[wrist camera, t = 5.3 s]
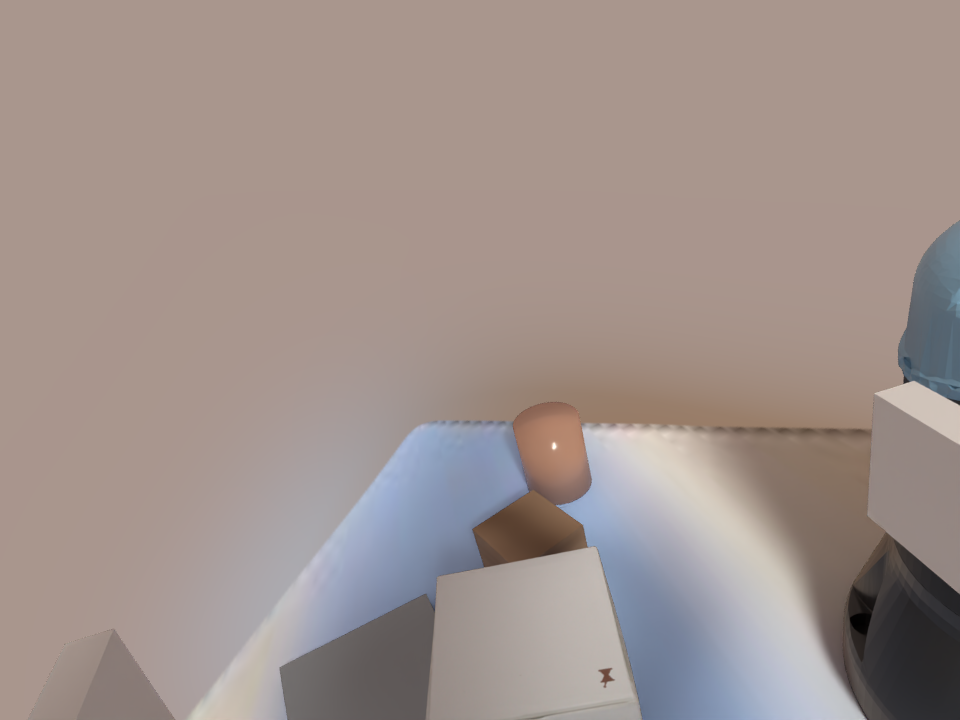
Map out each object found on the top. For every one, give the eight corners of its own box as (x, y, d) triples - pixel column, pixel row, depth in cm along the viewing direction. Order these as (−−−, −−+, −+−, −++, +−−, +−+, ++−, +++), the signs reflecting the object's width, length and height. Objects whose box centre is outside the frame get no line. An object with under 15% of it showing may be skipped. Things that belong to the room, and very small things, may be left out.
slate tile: (429, 601, 43) (425, 593, 43) (488, 725, 35) (484, 716, 34) (284, 675, 41) (279, 667, 40) (309, 829, 32) (303, 820, 32)
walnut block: (546, 544, 45) (533, 489, 43) (595, 583, 41) (582, 525, 39) (489, 584, 43) (472, 529, 41) (534, 629, 39) (518, 571, 37)
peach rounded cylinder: (570, 455, 53) (558, 394, 51) (604, 486, 49) (592, 421, 46) (518, 480, 52) (502, 419, 50) (547, 514, 48) (531, 449, 45)
